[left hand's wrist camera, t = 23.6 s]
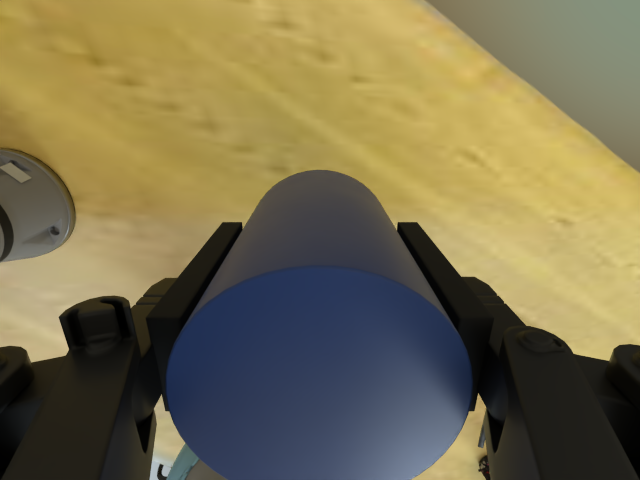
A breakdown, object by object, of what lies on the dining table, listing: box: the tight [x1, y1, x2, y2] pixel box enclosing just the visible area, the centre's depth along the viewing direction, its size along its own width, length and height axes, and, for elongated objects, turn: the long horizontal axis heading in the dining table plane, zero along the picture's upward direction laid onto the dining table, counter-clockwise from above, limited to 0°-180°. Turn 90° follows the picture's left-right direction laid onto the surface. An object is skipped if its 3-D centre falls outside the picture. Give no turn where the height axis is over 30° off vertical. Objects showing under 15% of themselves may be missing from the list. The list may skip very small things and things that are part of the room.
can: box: [166, 170, 473, 480], centre depth 11 cm, size 6×6×9 cm
